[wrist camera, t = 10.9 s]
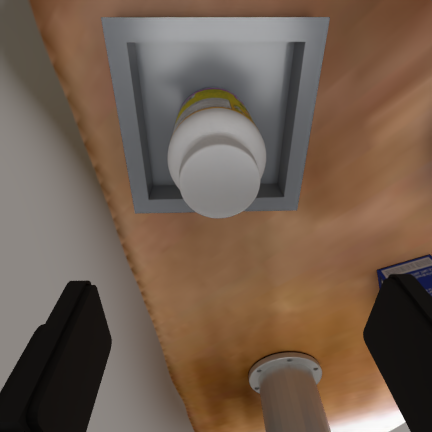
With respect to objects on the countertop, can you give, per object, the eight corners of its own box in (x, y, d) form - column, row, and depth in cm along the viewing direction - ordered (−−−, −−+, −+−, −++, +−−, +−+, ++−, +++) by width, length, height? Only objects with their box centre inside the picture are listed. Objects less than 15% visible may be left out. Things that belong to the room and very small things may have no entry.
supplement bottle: (250, 153, 30) (278, 226, 19) (184, 161, 30) (173, 239, 19) (246, 80, 26) (277, 118, 15) (170, 90, 26) (148, 135, 15)
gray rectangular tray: (287, 191, 33) (297, 210, 30) (142, 193, 33) (135, 213, 29) (312, 18, 25) (329, 17, 21) (115, 18, 24) (101, 17, 21)
